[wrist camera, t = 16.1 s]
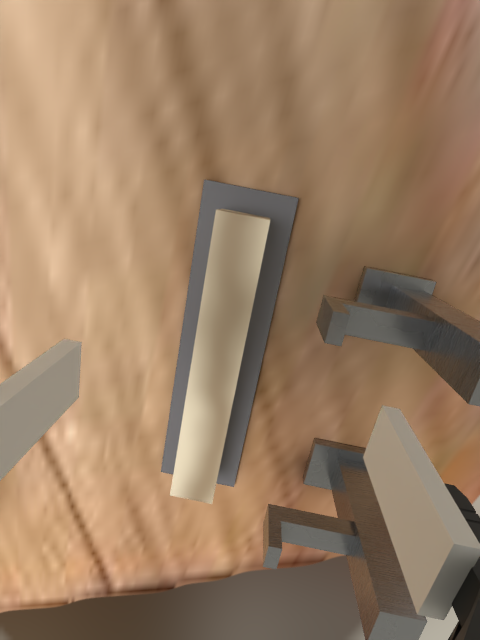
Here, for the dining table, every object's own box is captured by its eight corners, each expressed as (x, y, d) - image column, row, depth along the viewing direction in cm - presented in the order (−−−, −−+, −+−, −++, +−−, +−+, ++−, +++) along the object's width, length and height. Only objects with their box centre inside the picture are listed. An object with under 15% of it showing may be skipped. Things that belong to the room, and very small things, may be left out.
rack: (261, 468, 40) (257, 632, 25) (314, 256, 33) (354, 301, 18) (358, 488, 40) (414, 665, 25) (431, 279, 33) (573, 345, 18)
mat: (162, 468, 41) (161, 471, 40) (205, 179, 32) (204, 179, 31) (234, 483, 41) (233, 486, 40) (298, 198, 32) (298, 198, 31)
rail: (181, 460, 40) (170, 495, 35) (223, 208, 32) (216, 209, 27) (218, 467, 40) (211, 504, 35) (269, 217, 32) (270, 220, 27)
